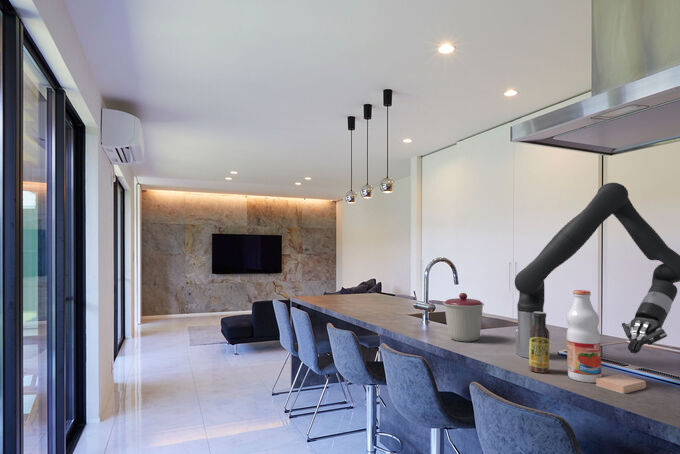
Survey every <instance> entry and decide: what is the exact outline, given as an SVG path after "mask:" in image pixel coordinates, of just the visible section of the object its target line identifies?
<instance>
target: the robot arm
mask: <svg viewBox="0 0 680 454" xmlns="http://www.w3.org/2000/svg"><path fill="white" fill-rule="evenodd" d="M611 215H613V216H614V217H615V218H616V219H617V220H618V221H619V223H620V224H621V225H622V226H623V228H624V229H625V231H626V232H627V233H628V235H629V236H630V237H631V240H633V242H634V243H635V244H636V246H637V247H638V249H639V250H640V251H641V252H642V254H644V256H645V257H646V258H647V259H648V260H649V261H659V262H661V264H659V265H657V266H656V267H654V270H653V272H652V278H651V279H652V280H651V286H650V287H649V289H648V291H647V293H646V295H645V296H644V297H643V299H642V300H641V302H640V304H639V306H638V308H637V310H636V312H635V315H634V318H633V319H632V320H631V321H630V322H629V323H625V322H622V323H621V327H622V328H623V331H624V333H625V336H626V337H627V339H628V340H629V341H630V342H629V344H628V345H627V349H628V351H629V352H630V353H631V354H635V355H636V354H638V353H639V352H641V350H642V347H643V346H644V345H649V346H651V345H652V344H655V343H656V342H659V341H660V340H663V339H665V338H667V337H668V334H667V333H666V331H665V330H664V329H663V327H662V326H663V325H664V323H665V321H666V319H667V317H668V315H669V313H670V311H671V308H672V305H673V302H674V300H675V298H676V296H677V294H678V288H677V286H676V285H675V283H679V282H680V254H678V253H677V252H676V251H675V250H673V249H672V248H670V247H669V246H668V245H667V243H666V242H665V241H664V240H663V239H662V237H661V236H660V235H659V233H657V231H656V230H655V229H654V228H653V227H652V226H651V225H650V224H649V223H648V222H647V221H646V220H645V219H644V217H642V215H641V214H640V213H639V212H638V211H637V209H636V208H635V206H634V205H633V203H632V202H631V200H630V197H629V191H628V189H627V188H626V187H625V186H624V185H623V184H622V183H618V182H608V183H605V184H603V185H602V186H600V187H599V188H598V190H597V192H596V194H595V195H594V196H593V198H592V200H591V201H589V202H588V204H587V206H585V208H584V209H583V210H582V211H581V212H579V213H578V214H577V215H576V216H575V217H573V218H572V219H571V220H570V221H569V222H567V223H566V224H565V225H564V226H563V227H561V228H560V230H558V232H557V233H556V234H555V235H554V236H553V237H552V238H551V239H550V241H549V242H548V243H547V244H546V245H545V246H544V248H543V249H542V250H541V251H540V252H539V254H538V255H537V256H536V257H535V259H533V260H532V261H531V262H530V263H528V264H527V265H526V266H525V267H524V268H523V269H521V270H520V271H519V272H518V273H517V274H516V275H515V278H514V287H515V289H516V290H517V291H518V293H519V298H518V300H517V301H518V302H517V304H516V305H517V306H516V307H517V308H516V309H517V310H516V311H517V328H516V329H515V344H516V345H515V346H516V347H515V348H516V349H515V351H516V353H515V354H517V355H518V356H520V357H522V358H526V359H527V358H528V359H529V339H530V330H531V328H532V326H533V325H534V324H533V323H534V316H533V312H544V306H545V280H546V278H548V276H549V275H550V274H551V273H552V272H553V271H555V270H556V268H558V267H560V266H561V265H563V264H564V263H565V262H567V261H568V260H569V259H571V258H572V257H573V256H574V255H575V254H576V253H577V252H578V251H579V250H580V249H581V248H582V247H583V246H584V245H585V244H586V243H587V242H588V241H589V240H590V239H591V237H592V236H593V235H594V233H595V232H596V231H597V230H598V228H599V227H600V226H601V225H602V223H603V222H605V221H606V220H607V219H608V218H609V217H610V216H611ZM632 329H633V330H632ZM631 331H632V332H631Z"/></svg>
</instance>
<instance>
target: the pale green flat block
mask: <svg viewBox="0 0 680 454" xmlns="http://www.w3.org/2000/svg"><path fill="white" fill-rule="evenodd" d="M595 386H597V387H600V388H603V389H606V390H610V391H613V392H617V393H620V394H623V395H624V394H628V393H632V392H635V391H639V390H643V389H646V388H647V383H646V380H644V379H638V378H636V377H632V376H628V375H624V374H621V373H617V374H612V375H608V376H607V375H606V376H602V377H601V378H597V379H596V382H595Z"/></svg>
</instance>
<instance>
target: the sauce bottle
mask: <svg viewBox="0 0 680 454" xmlns="http://www.w3.org/2000/svg"><path fill="white" fill-rule="evenodd" d="M533 316H534V323H533V324H534V325H533V326H532V328H531V330H530V339H529V358H528V359H529V360H528V365H529V370H530V371H532V372H535V373H538V374H539V373H543V374H546V373H548V372H550V371H549V369H550V331H549V329H548V328H547V324H546V323H547V322H546V321H547V312H544V311H543V312H533Z"/></svg>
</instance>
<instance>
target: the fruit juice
mask: <svg viewBox="0 0 680 454" xmlns="http://www.w3.org/2000/svg"><path fill="white" fill-rule="evenodd" d="M572 295H573V297H574V299H573V302H572V304H571V307H570V309H569V310H568V311H567V313H566V323H567V325H568V328H567V330H566V356H567V357H566V358H567V361H566V362H567V375H568V378H569V379H572V380H574V381H576V382H577V381H579V382H583V383H590V384H591V383H592V384H593V383H595V384H596V379H597V378H601V377H603V376H602V354H601V349H602V348H601V334H600V331H599V328H598V327H599V324H600V317H599V314H598V313H597V312H596V311H595V309H594V307H593V304H592V302H591V298H590V297H591V295H592V294H591V291H590V290H585V289H573V290H572Z"/></svg>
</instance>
